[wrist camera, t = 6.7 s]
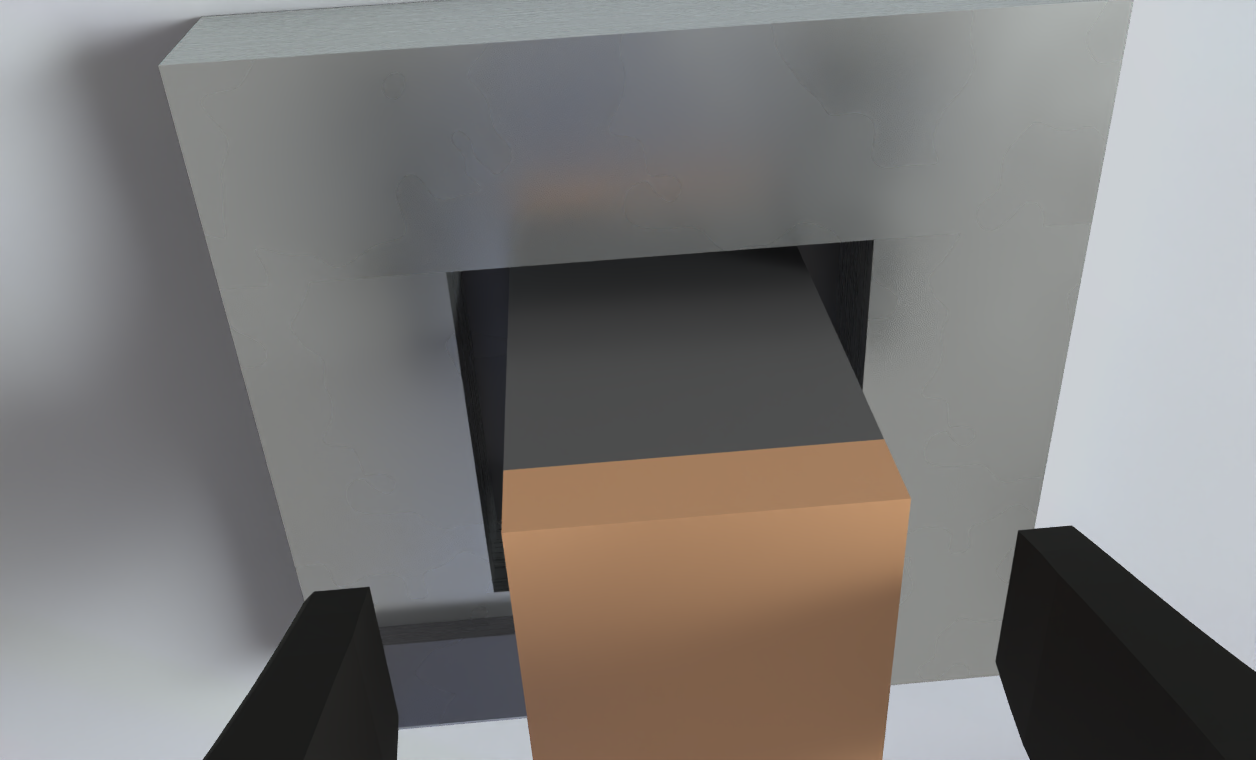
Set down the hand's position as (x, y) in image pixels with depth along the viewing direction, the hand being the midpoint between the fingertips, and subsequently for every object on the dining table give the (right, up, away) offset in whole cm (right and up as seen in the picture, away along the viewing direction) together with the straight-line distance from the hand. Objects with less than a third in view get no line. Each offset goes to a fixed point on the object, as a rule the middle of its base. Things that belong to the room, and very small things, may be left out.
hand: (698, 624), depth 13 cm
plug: (0, +3, +4) cm, 5 cm away
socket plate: (0, +3, +5) cm, 6 cm away
